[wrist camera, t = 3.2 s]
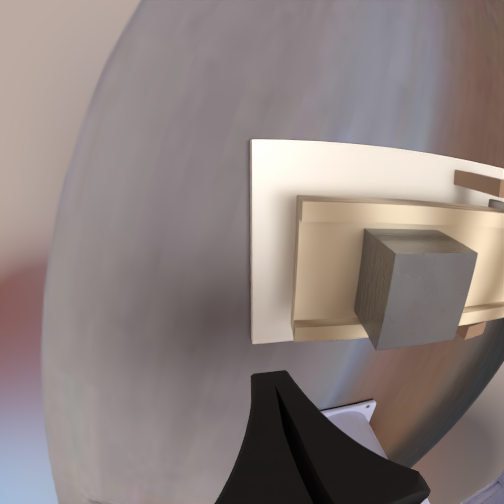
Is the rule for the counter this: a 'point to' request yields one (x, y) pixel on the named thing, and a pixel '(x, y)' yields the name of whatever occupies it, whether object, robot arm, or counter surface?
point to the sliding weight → (412, 286)
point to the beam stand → (339, 184)
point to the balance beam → (350, 250)
